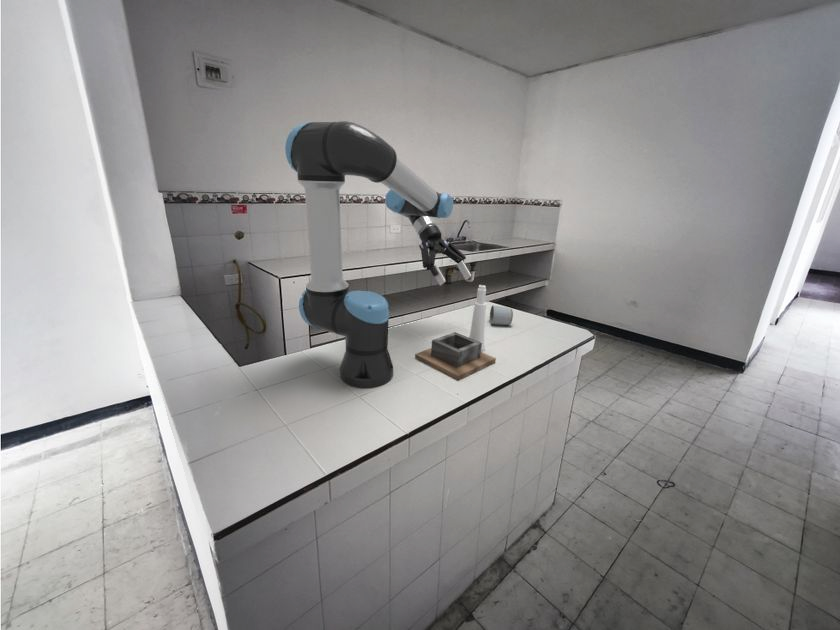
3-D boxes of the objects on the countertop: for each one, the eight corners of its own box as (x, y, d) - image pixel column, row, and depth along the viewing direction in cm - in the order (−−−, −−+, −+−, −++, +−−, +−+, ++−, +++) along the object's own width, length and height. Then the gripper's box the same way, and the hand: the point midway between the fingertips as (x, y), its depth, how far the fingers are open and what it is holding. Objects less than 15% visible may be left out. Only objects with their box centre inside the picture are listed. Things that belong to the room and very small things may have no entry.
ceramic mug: (512, 327, 146) (514, 309, 144) (491, 326, 146) (493, 308, 144) (506, 319, 156) (508, 301, 154) (487, 318, 156) (489, 300, 154)
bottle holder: (458, 380, 104) (460, 359, 102) (415, 358, 116) (416, 339, 114) (495, 362, 116) (497, 343, 114) (452, 343, 128) (454, 326, 126)
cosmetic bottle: (463, 346, 127) (469, 284, 120) (476, 342, 130) (482, 282, 123) (474, 352, 122) (481, 289, 115) (488, 349, 126) (495, 287, 118)
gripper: (445, 235, 143) (471, 281, 138) (396, 239, 126) (424, 291, 121) (456, 222, 138) (484, 270, 133) (407, 225, 121) (437, 279, 116)
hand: (456, 280), depth 127 cm, fingers open, 13 cm apart
